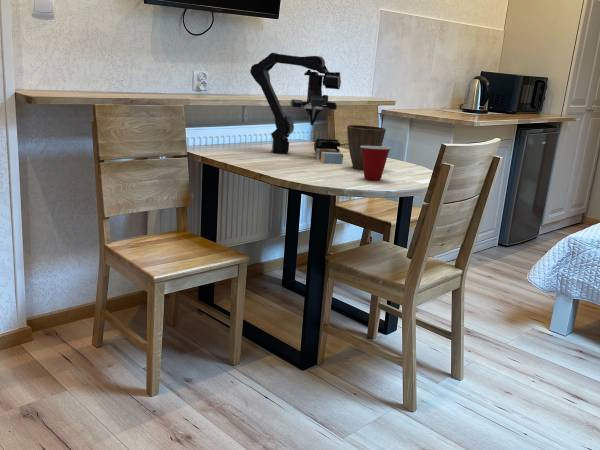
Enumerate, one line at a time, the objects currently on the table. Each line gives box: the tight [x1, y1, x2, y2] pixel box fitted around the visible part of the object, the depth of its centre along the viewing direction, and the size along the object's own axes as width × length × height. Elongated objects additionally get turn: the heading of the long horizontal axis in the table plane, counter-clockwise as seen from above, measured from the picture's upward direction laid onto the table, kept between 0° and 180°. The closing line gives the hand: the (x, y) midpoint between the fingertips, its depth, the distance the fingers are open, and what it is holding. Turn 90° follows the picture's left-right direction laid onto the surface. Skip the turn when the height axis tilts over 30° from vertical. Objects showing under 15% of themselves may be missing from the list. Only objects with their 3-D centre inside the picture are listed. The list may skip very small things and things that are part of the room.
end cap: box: [313, 138, 341, 154], centre depth 259 cm, size 10×7×7 cm
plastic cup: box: [360, 145, 392, 182], centre depth 209 cm, size 11×11×12 cm
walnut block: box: [315, 148, 337, 161], centre depth 248 cm, size 4×4×8 cm
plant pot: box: [346, 124, 387, 171], centre depth 230 cm, size 15×15×16 cm
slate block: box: [320, 152, 344, 165], centre depth 239 cm, size 4×4×8 cm
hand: (311, 125), depth 249 cm, fingers closed
